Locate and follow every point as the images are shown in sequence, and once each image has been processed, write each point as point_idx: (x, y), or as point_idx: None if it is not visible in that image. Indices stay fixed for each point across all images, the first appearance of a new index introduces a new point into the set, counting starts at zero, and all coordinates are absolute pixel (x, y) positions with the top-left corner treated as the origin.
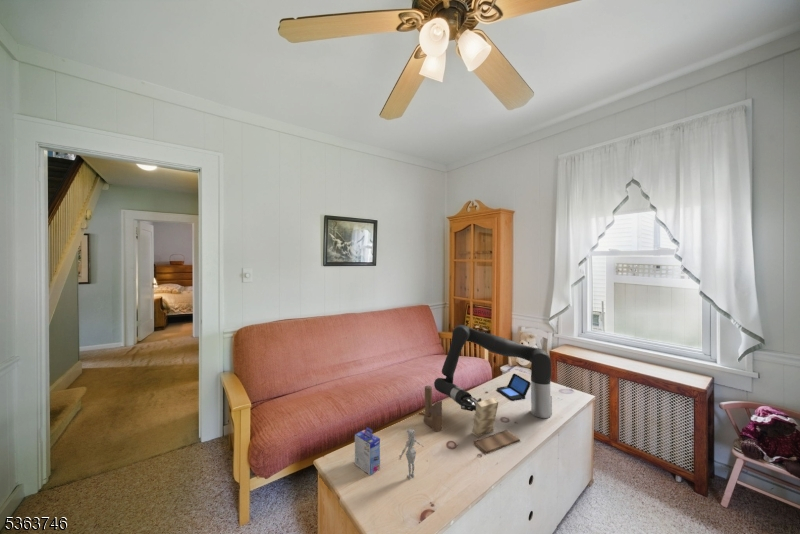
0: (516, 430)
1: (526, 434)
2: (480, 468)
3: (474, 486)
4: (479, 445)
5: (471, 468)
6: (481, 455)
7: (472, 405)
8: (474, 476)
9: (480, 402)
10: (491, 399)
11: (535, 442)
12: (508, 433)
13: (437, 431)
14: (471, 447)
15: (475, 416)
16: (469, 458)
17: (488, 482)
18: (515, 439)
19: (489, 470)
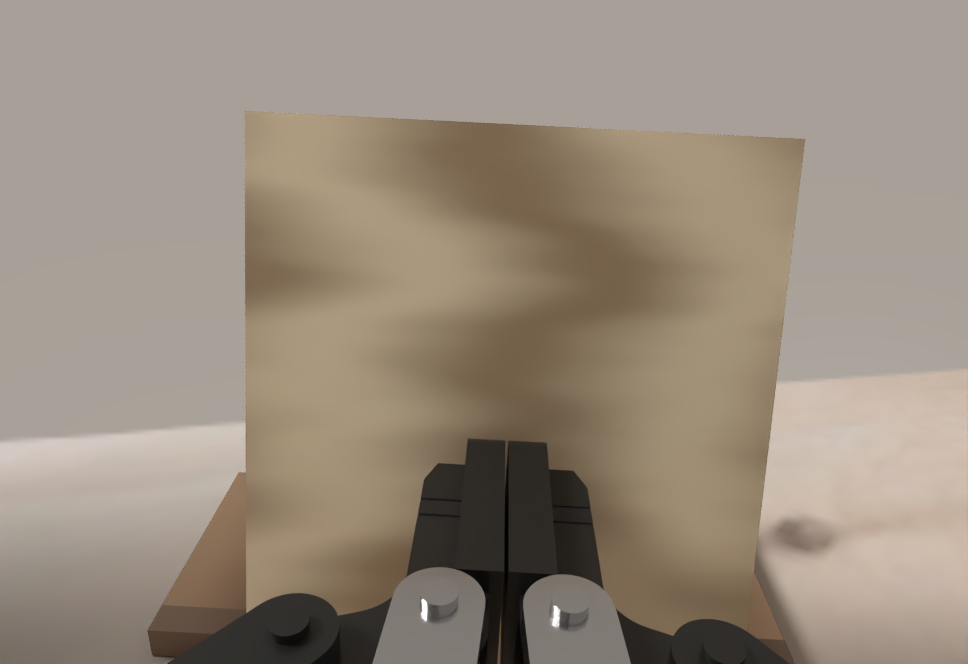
0: (5, 616)
1: (36, 523)
2: (855, 453)
3: (953, 397)
4: (754, 580)
5: (940, 476)
6: (781, 527)
7: (684, 654)
8: (932, 432)
9: (711, 137)
10: (363, 120)
11: (144, 438)
12: (223, 569)
13: None
14: (856, 649)
15: (750, 506)
16: (933, 547)
17: (840, 385)
18: None
19: (787, 423)
